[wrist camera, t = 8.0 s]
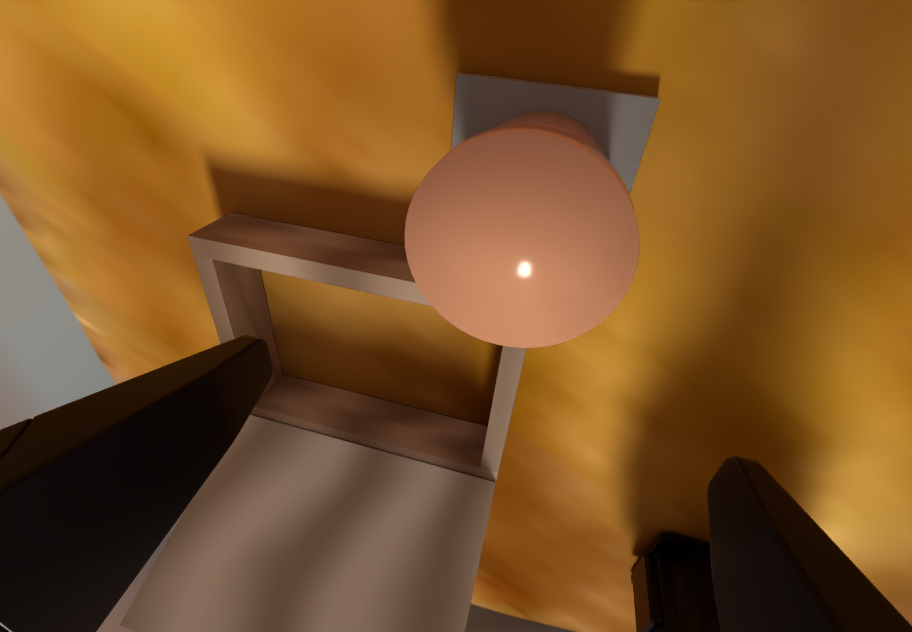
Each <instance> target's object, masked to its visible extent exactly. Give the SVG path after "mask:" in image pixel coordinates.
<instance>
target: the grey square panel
mask: <svg viewBox="0 0 912 632" xmlns="http://www.w3.org/2000/svg"><path fill="white" fill-rule="evenodd" d="M659 102H660V98H659V97H658V96H651V95H643V94H635V93H627V92H618V91H610V90H602V89H594V88H586V87H578V86H569V85H561V84H553V83H545V82H537V81H529V80H520V79H512V78H504V77H496V76H488V75H479V74H471V73H463V72H460V73H457V77H456V91H455V105H454V119H453V133H452V147H451V150H452V149H453V148H454V147H456V146H457V145H458V144H460V143H461V142H463V141H464V140H466V139H468V138H470V137H472V136H474V135H476V134H478V133H481V132H483V131H486V130H489V129H492V128H495V127H496V126H497V125H499V124H500V123H502V122H503V121H505V120H507V119H509V118H510V117H513V116H515V115H518V114H521V113H525V112H530V111H552V112H557V113H561V114H564V115H566V116H569V117H571V118H573V119H575V120H577V121H578V122H580V123H581V124H582V125H584V126H585V127H586V128H587V129H588V130H589V131H590V132H591V133H592V134H593V135H594V136H595V137H596V139H597V140H598V142H599V143H600V145H601V147H602V149H603V151H604V154H605V156H606V159H607V160H608V161H609V162H610V163H611V164H612V165H613V166H614V168H615V169H616V171H617V172H618V173H619V175H620V176H621V178H622V180H623V181H624V183H625V185H626V187H627V189H628V191H629V194H630V191H631V188H632V185H633V182H634V179H635V176H636V173H637V170H638V167H639V164H640V160H641V157H642V154H643V151H644V148H645V145H646V142H647V139H648V136H649V133H650V130H651V126H652V123H653V120H654V117H655V114H656V111H657V108H658V105H659Z"/></svg>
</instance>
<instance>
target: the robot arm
mask: <svg viewBox="0 0 912 632" xmlns="http://www.w3.org/2000/svg"><path fill="white" fill-rule="evenodd" d="M272 373H273V365H272V361H271V356H270V352H269V347H268V343H267V342H266V340H265V339H263V338H259V337H255V336H251V335H243V336H240V337H238V338H235V339H233V340H230V341H228V342H225V343H222V344H220V345H217V346H215V347H212V348H210V349H207V350H204V351H202V352H199V353H197V354H194V355H192V356H189V357H186V358H184V359H181V360H179V361H176V362H174V363H171V364H168V365H166V366H163V367H161V368H158V369H156V370H153V371H150V372H148V373H145V374H143V375H140V376H138V377H135V378H132V379H130V380H127V381H125V382H122V383H120V384H117V385H114V386H112V387H110V388H107V389H104V390H102V391H99V392H97V393H94V394H91V395H89V396H86V397H84V398H81V399H79V400H76V401H73V402H71V403H68V404H66V405H63V406H60V407H58V408H55V409H53V410H50V411H48V412H45V413H42V414H40V415H37V416H35V417H34V418H33V419H27V420H24V421H22V422H19V423H17V424H14V425H12V426H9V427H6V428H4V429H1V430H0V632H96V631H97V630H98V628H99V627H100V626H101V624H102V623H103V622H104V620H105V619H106V618H107V616H108V615H109V613H110V612H111V611H112V609H113V608H114V606H115V605H116V603H117V602H118V601H119V599H120V598H121V597H122V595H123V594H124V593H125V591H126V590H127V589H128V587H129V586H130V584H131V583H132V582H133V580H134V579H135V578H136V576H137V575H138V573H139V572H140V571H141V569H142V568H143V567H144V565H145V564H146V562H147V561H148V560H149V558H150V557H151V555H152V554H153V553H154V551H155V550H156V549H157V547H158V546H159V545H160V543H161V541H162V540H163V539H164V538H165V536H166V534H167V533H168V532H169V531H170V529H171V527H173V525H174V524H175V522H176V521H177V520H178V518H179V517H180V515H181V514H182V513H183V511H184V510H185V509H186V507H187V506H188V505H189V503H190V502H191V500H192V499H193V498H194V496H195V495H196V494H197V492H198V491H199V489H200V488H201V487H202V485H203V484H204V482H205V481H206V480H207V478H208V477H209V476H210V474H211V473H212V471H213V470H214V469H215V467H216V466H217V465H218V463H219V462H220V460H221V459H222V458H223V456H224V455H225V454H226V452H227V451H228V449H229V448H230V446H231V445H232V444H233V442H234V441H235V439H236V437H237V436H238V434H239V433H240V431H241V429H242V428H243V426H244V424H245V422H246V421H247V419H248V417H249V416H250V414H251V412H252V410H253V409H254V407H255V405H256V404H257V402H258V400H259V398H260V397H261V395H262V393H263V391H264V390H265V388H266V386H267V385H268V383H269V381H270V379H271V377H272ZM707 500H708V517H709V534H710V544H706V543H702V542H699V541H695V540H692V539H688V538H684V537H681V536H677V535H674V534H670V533H661V534H660V535H658V537H657V538H656V540H655V541H654V543H653V544H652V546H651V547H650V548H649V550H648V551H647V553H645V554H644V555H643V556H642V558H641V559H640V560H639V562H638V563H637V565H636V566H635V568H634V569H633V571H632V575H631V582H632V584H633V591H634V604H635V617H636V630H637V632H912V626H911V625H910V624H909V623H908V621H907V620H906V619H905V618H904V617H903V616H902V615H901V614H900V613H899V612H898V611H897V610H896V609H895V607H894V606H893V605H892V604H891V603H890V602H889V601H888V600H887V599H886V598H885V597H884V596H883V595H882V593H881V592H880V591H879V590H878V589H877V588H876V587H875V586H874V585H873V584H872V583H871V582H870V581H869V579H868V578H867V577H866V576H865V575H864V574H863V573H862V572H861V571H860V570H859V569H858V568H857V567H856V565H855V564H854V563H853V562H852V561H851V560H850V559H849V558H848V557H847V556H846V555H845V554H844V553H843V551H842V550H841V549H840V548H839V547H838V546H837V545H836V544H835V543H834V542H833V541H832V540H831V539H830V537H829V536H828V535H827V534H826V533H825V532H824V531H823V530H822V529H821V528H820V527H819V526H818V525H817V523H816V522H815V521H814V520H813V519H812V518H811V517H810V516H809V515H808V514H807V513H806V512H805V511H804V509H803V508H802V507H801V506H800V505H799V504H798V503H797V502H796V501H795V500H794V499H793V498H792V497H791V495H790V494H789V493H788V492H787V491H786V490H785V489H784V488H783V487H782V486H781V485H780V484H779V483H778V481H777V480H776V479H775V478H774V477H773V476H772V475H771V474H770V473H769V472H768V471H767V470H766V469H765V467H764V466H763V465H762V464H761V463H759V462H758V461H756V460H753V459H749V458H745V457H741V456H737V455H731V456H729V457H727V458H726V460H725V461H724V462H723V464H722V465H721V466H720V468H719V469H718V471H717V472H716V473H715V475H714V476H713V478H712V479H711V480H710V482H709V485H708V490H707Z"/></svg>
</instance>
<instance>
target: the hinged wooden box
mask: <svg viewBox="0 0 912 632" xmlns="http://www.w3.org/2000/svg"><path fill="white" fill-rule="evenodd" d="M188 239H189V242H190V245H191V249H192V252H193V255H194V258H195V262H196V265H197V268H198V271H199V275H200V278H201V281H202V284H203V288H204V291H205V294H206V297H207V300H208V304H209V307H210V310H211V313H212V317H213V320H214V323H215V326H216V330H217V333H218V336H219V339H220V343H221V344H222V343H225V342H228V341H230V340H233V339H235V338H238V337H240V336H243V335H251V336H255V337H259V338H263V339H265V340H266V342H267V343H268V347H269V352H270V356H271V361H272V365H273V373H272V377H271V379H270V381H269V383H268V385H267V386H266V388H265V390H264V391H263V393H262V395H261V397H260V398H259V400H258V402H257V404H256V405H255V407H254V409H253V410H252V412H251V414H250V416H249V417H248V419H247V421H246V422H245V424H244V426H243V428H242V429H241V431H240V433H239V434H238V436H237V437H236V439H235V441H234V442H233V444H232V445H231V446H230V448H229V449H228V451H227V452H226V454H225V455H224V456H223V458H222V459H221V460H220V462H219V463H218V465H217V466H216V467H215V469H214V470H213V471H212V473H211V474H210V476H209V477H208V478H207V480H206V481H205V482H204V484H203V485H202V487H201V488H200V489H199V491H198V492H197V494H196V495H195V496H194V498H193V499H192V500H191V502H190V503H189V505H188V506H187V507H186V509H185V511H184V513H183V514H182V516H181V518H180V520H179V521H178V523H177V525H176V527H175V529H174V530H173V532H172V534H171V536H170V537H169V539H168V541H167V543H166V544H165V546H164V548H163V550H162V552H161V553H160V555H159V557H158V558H157V560H156V562H155V564H154V566H153V568H152V569H151V571H150V573H149V574H148V576H147V578H146V580H145V582H144V583H143V585H142V587H141V589H140V590H139V592H138V594H137V596H136V598H135V599H134V601H133V603H132V605H131V606H130V608H129V610H128V612H127V613H126V615H125V617H124V619H123V620H122V622H121V624H120V625H121V626H123V627H126V628H128V629H131V630H134V631H136V632H465V627H466V622H467V617H468V612H469V608H470V603H471V598H472V594H473V589H474V584H475V579H476V575H477V570H478V565H479V560H480V555H481V551H482V546H483V541H484V536H485V532H486V527H487V522H488V517H489V513H490V508H491V503H492V498H493V493H494V489H495V484H496V479H497V475H498V471H499V466H500V462H501V457H502V453H503V449H504V444H505V440H506V435H507V431H508V427H509V422H510V418H511V414H512V409H513V405H514V400H515V396H516V392H517V387H518V383H519V379H520V374H521V370H522V365H523V361H524V357H525V352H526V348H518V347H508V346H503V348H502V353H501V359H500V364H499V369H498V375H497V380H496V385H495V391H494V396H493V402H492V407H491V412H490V418H489V423H488V426H484V425H480V424H476V423H472V422H468V421H464V420H460V419H456V418H452V417H449V416H445V415H441V414H437V413H433V412H429V411H425V410H421V409H417V408H413V407H409V406H406V405H402V404H398V403H394V402H390V401H386V400H382V399H378V398H374V397H370V396H366V395H362V394H359V393H355V392H351V391H347V390H343V389H339V388H335V387H331V386H327V385H323V384H319V383H315V382H312V381H308V380H304V379H300V378H296V377H292V376H288V375H284V374H282V370H281V366H280V361H279V356H278V351H277V347H276V342H275V337H274V333H273V328H272V323H271V318H270V314H269V309H268V304H267V300H266V295H265V290H264V285H263V281H262V276H261V271H260V270H265V271H269V272H274V273H279V274H283V275H288V276H293V277H297V278H302V279H307V280H311V281H316V282H321V283H325V284H330V285H335V286H339V287H344V288H349V289H353V290H358V291H363V292H367V293H372V294H377V295H381V296H386V297H391V298H395V299H400V300H405V301H409V302H414V303H419V304H423V305H428V306H431V305H430V303H429V302H428V301H427V300H426V298H425V297H424V296H423V294H422V292H421V291H420V289H419V288H418V286H417V284H416V282H415V280H414V278H413V275H412V273H411V270H410V267H409V264H408V261H407V255H406V250H405V246H402V245H397V244H392V243H387V242H382V241H376V240H371V239H366V238H361V237H356V236H351V235H345V234H340V233H335V232H330V231H325V230H319V229H314V228H309V227H304V226H299V225H294V224H288V223H283V222H278V221H273V220H268V219H262V218H257V217H252V216H247V215H242V214H237V213H230V214H228V215H226V216H224V217H222V218H220V219H218V220H216V221H214V222H213V223H211V224H209V225H207V226H205V227H203V228H201V229H199V230H197V231H196V232H194V233H192V234H190V235H188Z"/></svg>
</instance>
